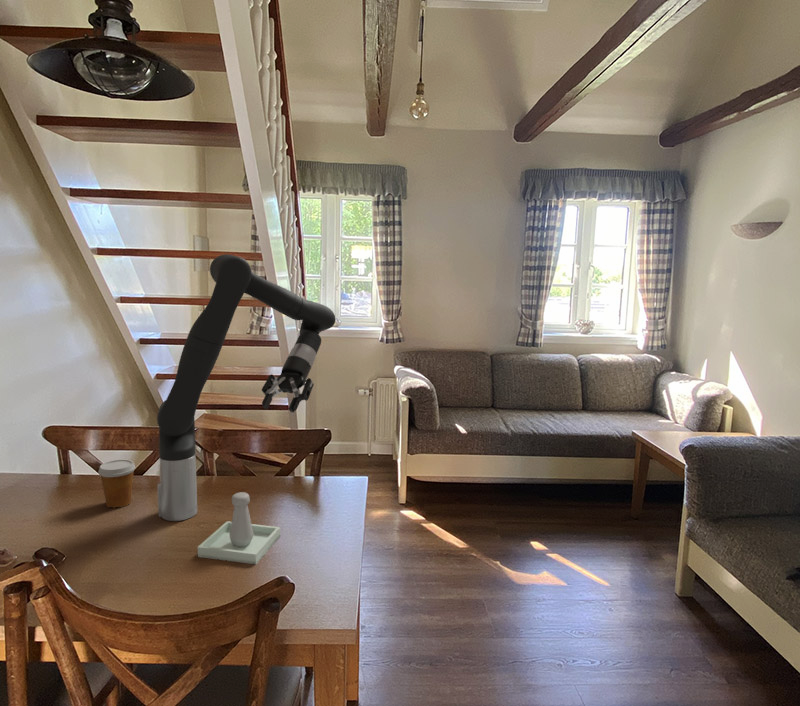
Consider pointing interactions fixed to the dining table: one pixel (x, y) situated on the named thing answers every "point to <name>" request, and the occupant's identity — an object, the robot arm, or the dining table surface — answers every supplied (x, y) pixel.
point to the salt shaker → (241, 521)
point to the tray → (252, 553)
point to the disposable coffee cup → (117, 482)
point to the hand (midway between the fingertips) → (277, 409)
